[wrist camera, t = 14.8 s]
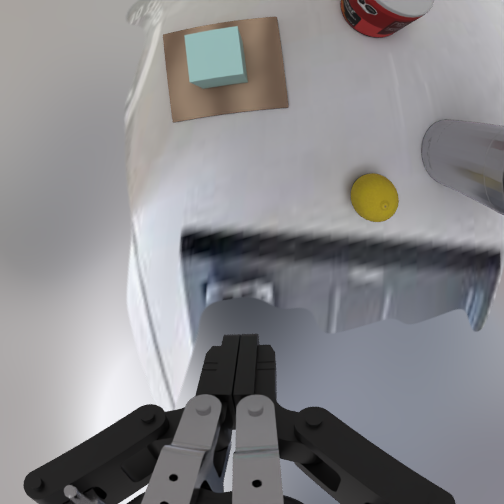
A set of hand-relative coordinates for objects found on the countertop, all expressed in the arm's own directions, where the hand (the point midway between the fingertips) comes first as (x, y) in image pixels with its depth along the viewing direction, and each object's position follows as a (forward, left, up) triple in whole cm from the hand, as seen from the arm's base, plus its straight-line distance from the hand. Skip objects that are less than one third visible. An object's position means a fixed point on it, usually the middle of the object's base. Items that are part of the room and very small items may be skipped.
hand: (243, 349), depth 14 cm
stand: (+2, -17, -28) cm, 33 cm away
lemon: (-14, 0, -28) cm, 31 cm away
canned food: (-17, -24, -28) cm, 41 cm away
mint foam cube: (+2, -17, -26) cm, 31 cm away
